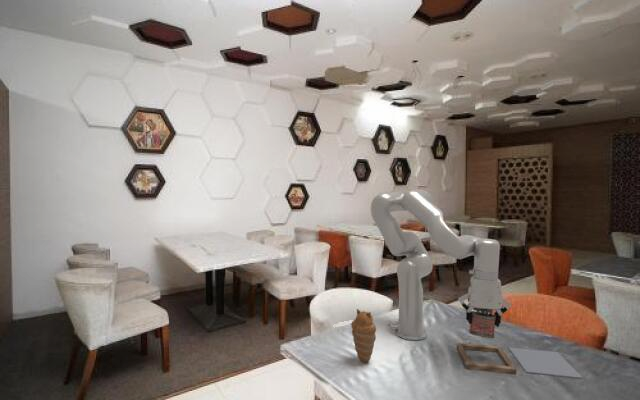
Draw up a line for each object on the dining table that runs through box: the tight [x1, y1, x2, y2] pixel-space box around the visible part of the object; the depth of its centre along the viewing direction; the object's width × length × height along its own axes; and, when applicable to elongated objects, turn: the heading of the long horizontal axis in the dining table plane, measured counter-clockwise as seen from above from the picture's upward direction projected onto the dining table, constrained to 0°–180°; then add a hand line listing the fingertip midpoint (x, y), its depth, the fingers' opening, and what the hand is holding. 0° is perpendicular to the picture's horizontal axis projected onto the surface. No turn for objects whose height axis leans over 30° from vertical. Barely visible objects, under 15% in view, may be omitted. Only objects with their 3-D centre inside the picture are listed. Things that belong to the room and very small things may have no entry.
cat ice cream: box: [350, 308, 377, 363], centre depth 112 cm, size 9×8×18 cm
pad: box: [508, 347, 584, 380], centre depth 111 cm, size 16×16×1 cm
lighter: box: [468, 308, 496, 339], centre depth 114 cm, size 8×3×10 cm, turn 70°
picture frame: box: [456, 342, 517, 375], centre depth 113 cm, size 15×15×2 cm
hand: (482, 323), depth 113 cm, fingers closed on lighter, 8 cm apart
